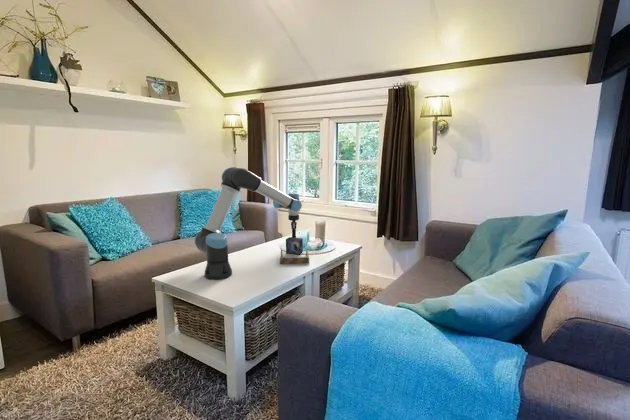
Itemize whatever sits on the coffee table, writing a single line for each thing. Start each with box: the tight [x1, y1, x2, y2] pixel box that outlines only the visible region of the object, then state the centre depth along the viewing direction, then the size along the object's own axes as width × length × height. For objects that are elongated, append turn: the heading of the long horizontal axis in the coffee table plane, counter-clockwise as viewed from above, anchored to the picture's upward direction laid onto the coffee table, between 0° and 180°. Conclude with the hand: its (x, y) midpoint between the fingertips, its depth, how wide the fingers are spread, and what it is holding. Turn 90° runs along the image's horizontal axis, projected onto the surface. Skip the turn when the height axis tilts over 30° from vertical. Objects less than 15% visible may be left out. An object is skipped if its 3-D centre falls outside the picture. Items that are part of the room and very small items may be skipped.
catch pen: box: [279, 248, 310, 265], centre depth 222 cm, size 18×18×4 cm
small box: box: [285, 236, 304, 256], centre depth 235 cm, size 11×6×10 cm, turn 73°
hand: (293, 246), depth 245 cm, fingers closed
